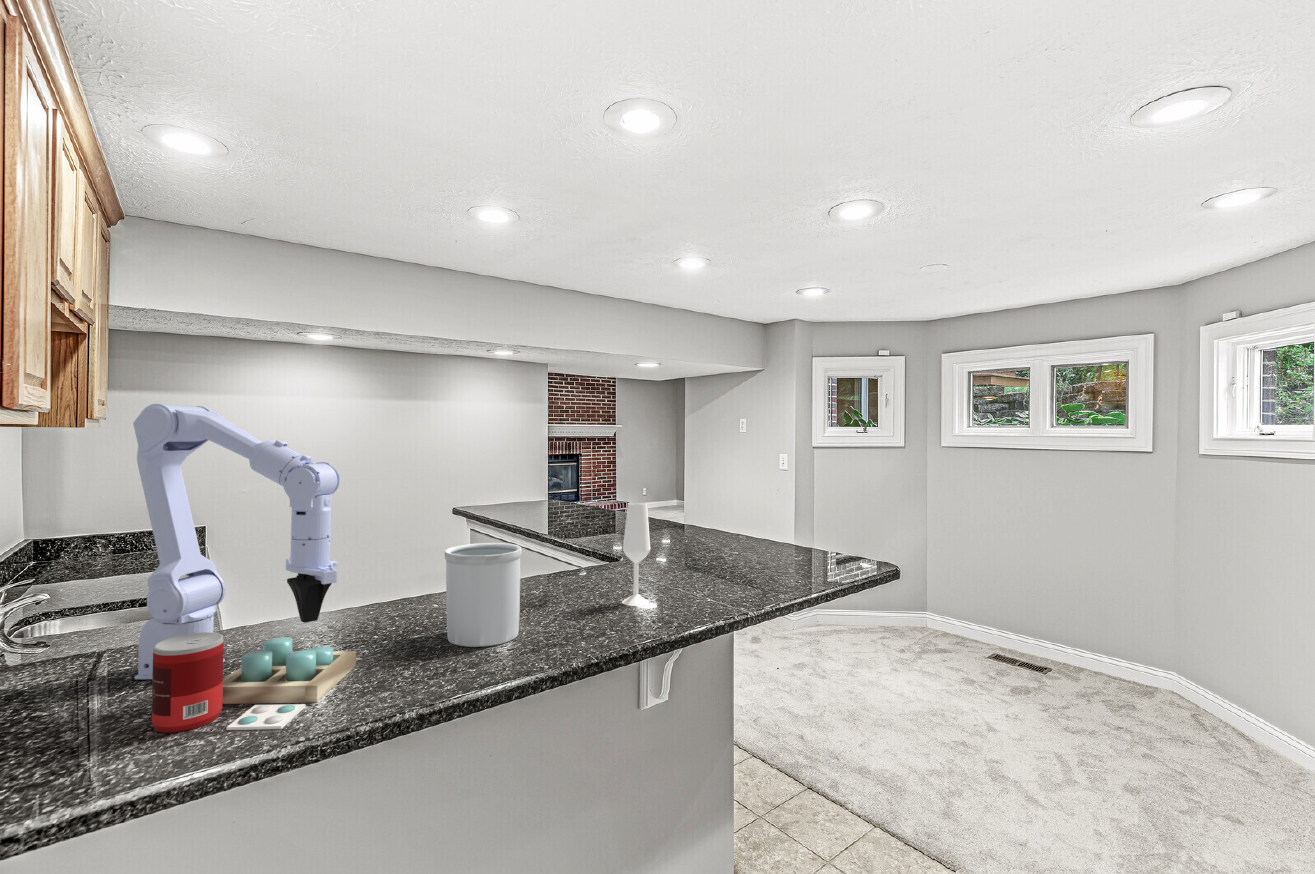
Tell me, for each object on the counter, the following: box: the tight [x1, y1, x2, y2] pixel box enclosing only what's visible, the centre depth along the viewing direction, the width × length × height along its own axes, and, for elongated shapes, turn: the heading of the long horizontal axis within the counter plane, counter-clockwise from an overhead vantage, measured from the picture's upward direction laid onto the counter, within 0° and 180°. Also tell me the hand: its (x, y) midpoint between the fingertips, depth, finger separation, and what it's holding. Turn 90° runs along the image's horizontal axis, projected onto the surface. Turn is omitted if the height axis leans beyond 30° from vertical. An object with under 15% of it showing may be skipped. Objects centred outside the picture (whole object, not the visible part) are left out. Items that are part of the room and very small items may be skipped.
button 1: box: [240, 649, 272, 682], centre depth 97 cm, size 4×4×4 cm
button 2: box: [263, 636, 293, 666], centre depth 104 cm, size 4×4×4 cm
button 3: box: [286, 649, 316, 681], centre depth 98 cm, size 4×4×4 cm
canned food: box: [151, 632, 225, 734], centre depth 87 cm, size 8×8×11 cm
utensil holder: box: [444, 542, 523, 648], centre depth 126 cm, size 15×15×18 cm
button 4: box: [308, 646, 334, 666], centre depth 104 cm, size 4×4×4 cm
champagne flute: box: [621, 502, 651, 607], centre depth 154 cm, size 7×7×24 cm
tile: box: [226, 703, 306, 731], centre depth 89 cm, size 7×7×1 cm
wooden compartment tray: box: [222, 650, 357, 705], centre depth 101 cm, size 15×15×2 cm
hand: (309, 620), depth 103 cm, fingers closed
